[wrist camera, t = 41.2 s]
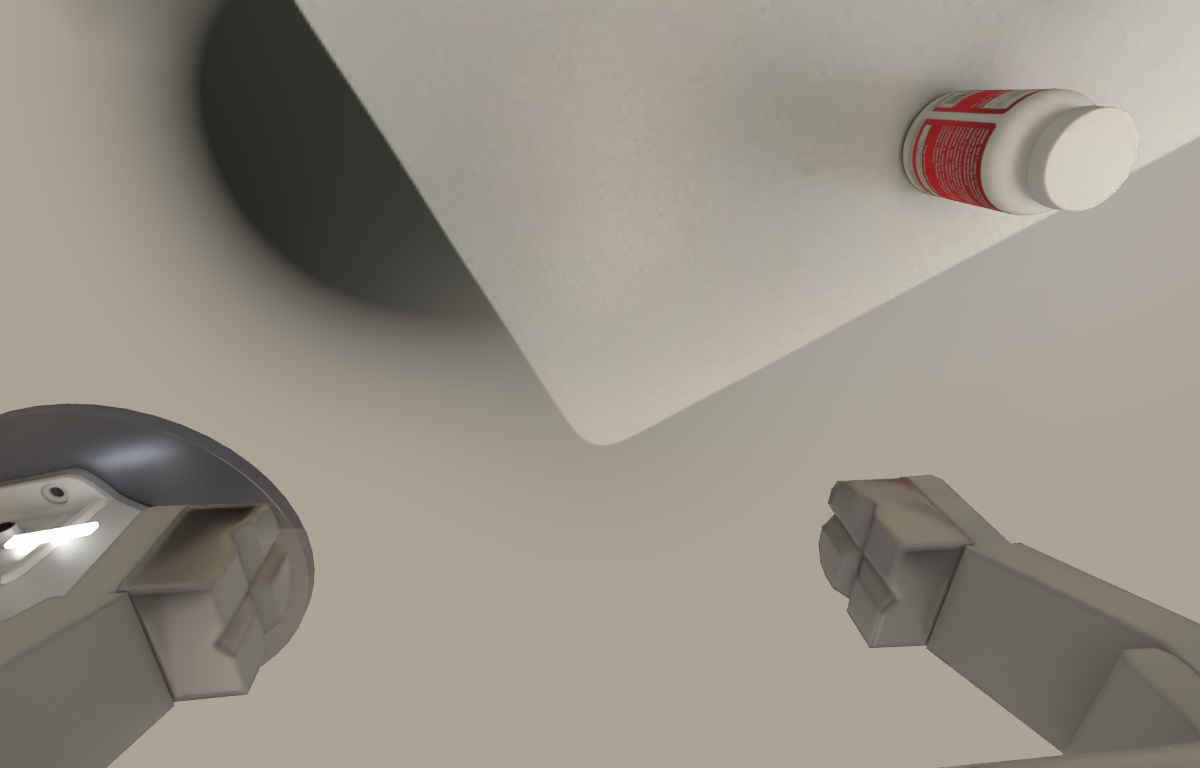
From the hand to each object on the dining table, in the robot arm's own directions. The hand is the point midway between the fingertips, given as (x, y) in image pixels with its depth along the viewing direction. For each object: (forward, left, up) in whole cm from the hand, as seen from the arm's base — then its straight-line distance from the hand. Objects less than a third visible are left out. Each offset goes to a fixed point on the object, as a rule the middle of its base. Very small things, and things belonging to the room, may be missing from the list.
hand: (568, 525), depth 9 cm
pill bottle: (+26, +4, -31) cm, 41 cm away
